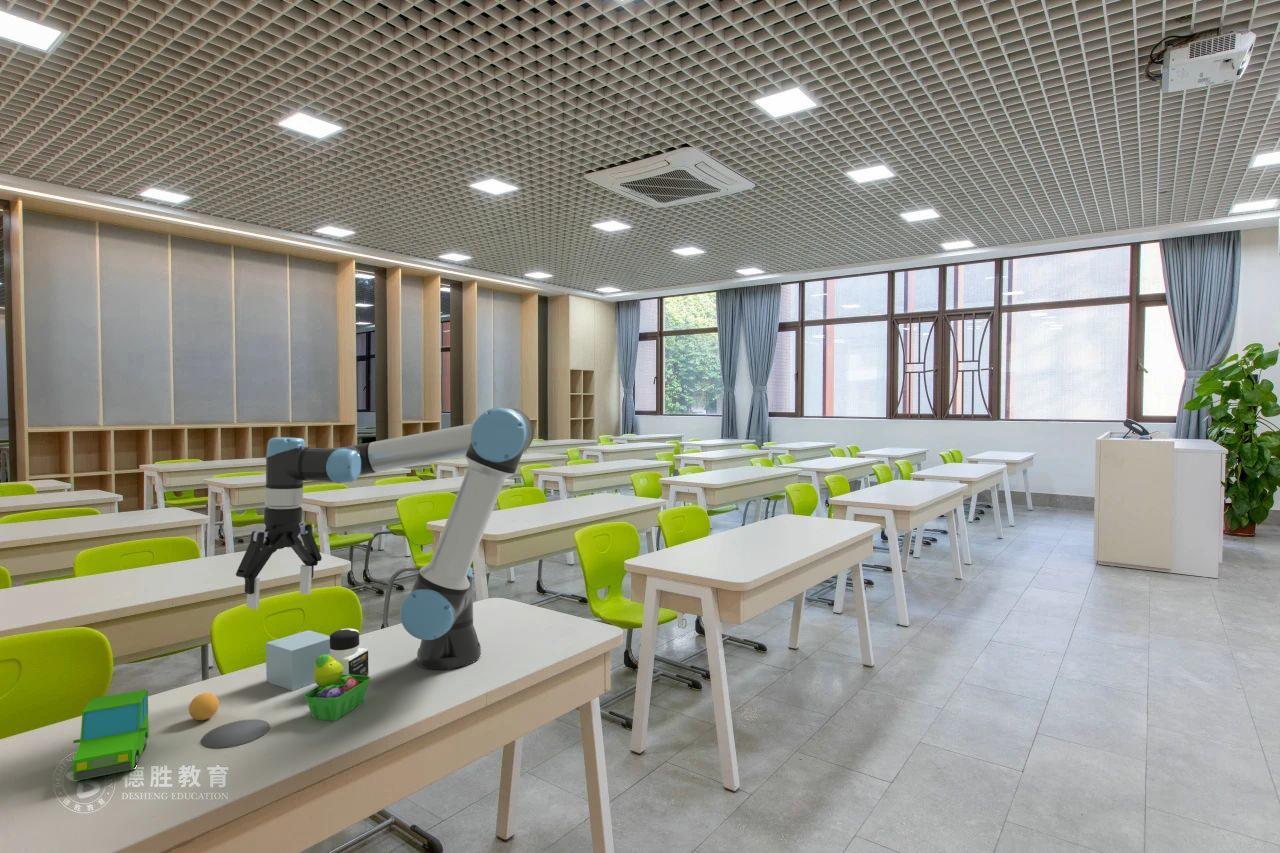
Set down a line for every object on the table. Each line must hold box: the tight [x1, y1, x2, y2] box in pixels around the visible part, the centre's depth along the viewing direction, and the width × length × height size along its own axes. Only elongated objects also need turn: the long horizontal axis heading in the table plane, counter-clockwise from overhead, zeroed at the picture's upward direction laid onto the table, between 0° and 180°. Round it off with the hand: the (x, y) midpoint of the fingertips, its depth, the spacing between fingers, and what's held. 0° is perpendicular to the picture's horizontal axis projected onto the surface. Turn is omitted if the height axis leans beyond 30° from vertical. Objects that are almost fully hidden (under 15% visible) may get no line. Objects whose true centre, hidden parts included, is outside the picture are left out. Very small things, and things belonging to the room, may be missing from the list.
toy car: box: [72, 689, 150, 782], centre depth 115 cm, size 10×13×10 cm
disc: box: [201, 718, 271, 749], centre depth 126 cm, size 11×11×1 cm
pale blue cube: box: [265, 629, 331, 692], centre depth 153 cm, size 10×10×9 cm
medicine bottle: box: [327, 628, 370, 677], centre depth 149 cm, size 7×7×12 cm
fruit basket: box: [303, 654, 371, 722], centre depth 136 cm, size 11×9×11 cm
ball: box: [188, 692, 220, 721], centre depth 132 cm, size 5×5×5 cm
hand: (279, 600), depth 150 cm, fingers open, 13 cm apart
